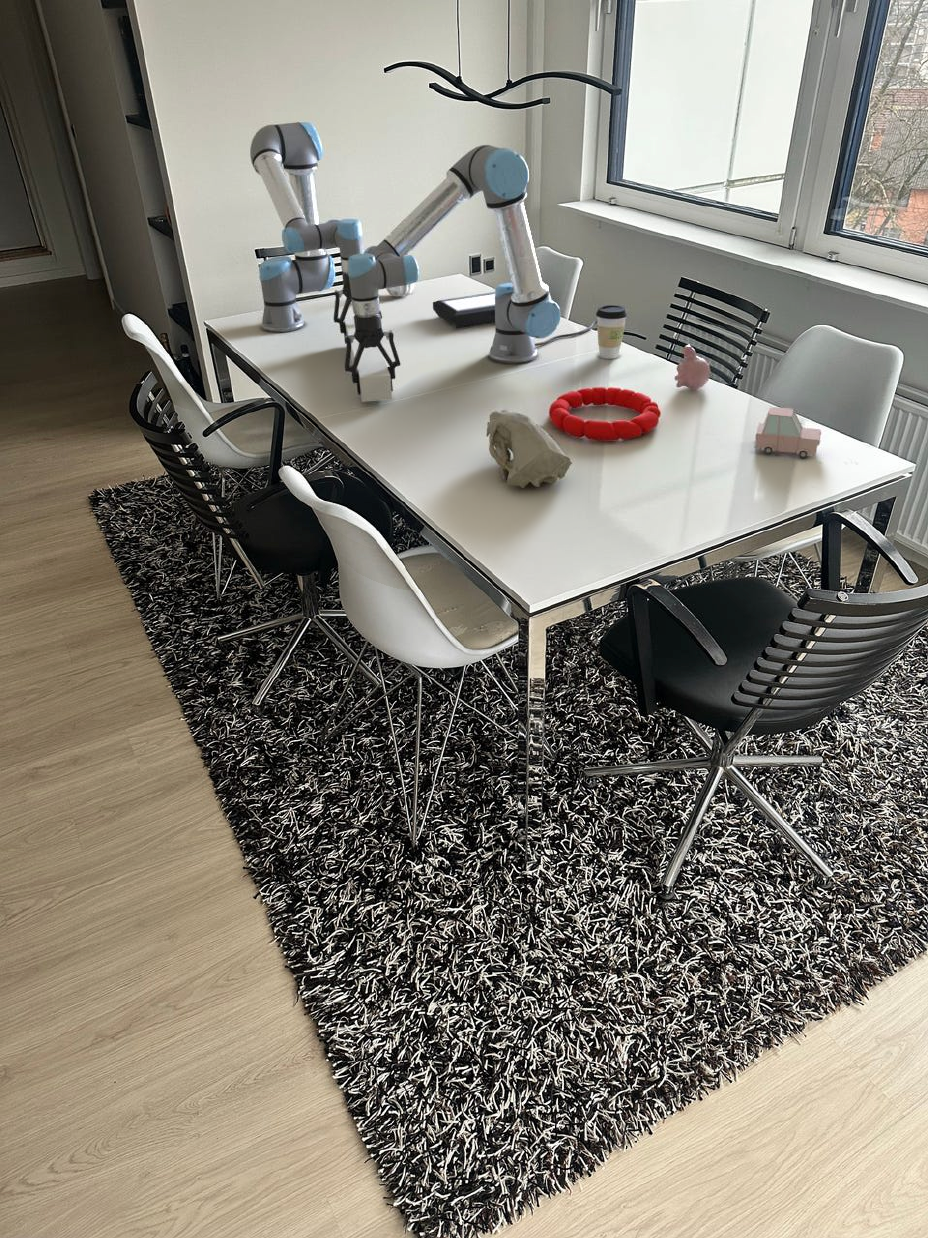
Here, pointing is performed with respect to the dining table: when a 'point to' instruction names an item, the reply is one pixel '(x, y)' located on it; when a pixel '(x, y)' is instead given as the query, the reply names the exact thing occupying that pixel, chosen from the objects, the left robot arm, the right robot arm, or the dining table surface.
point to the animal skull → (525, 450)
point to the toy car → (786, 434)
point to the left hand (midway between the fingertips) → (360, 341)
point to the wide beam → (370, 369)
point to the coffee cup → (610, 329)
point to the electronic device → (467, 310)
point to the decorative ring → (604, 428)
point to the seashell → (401, 290)
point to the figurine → (692, 370)
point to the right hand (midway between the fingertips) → (375, 391)
